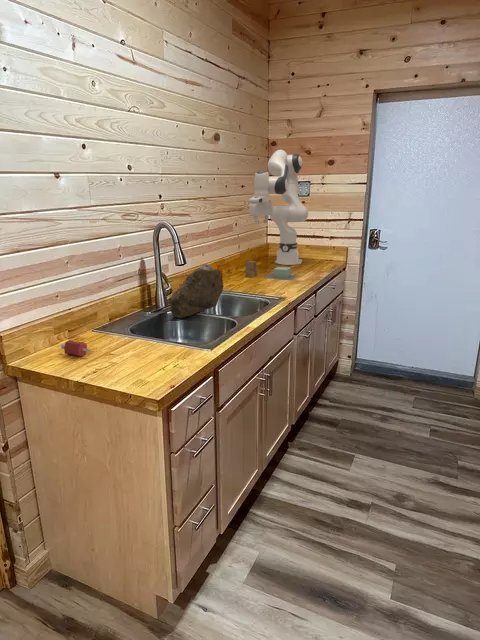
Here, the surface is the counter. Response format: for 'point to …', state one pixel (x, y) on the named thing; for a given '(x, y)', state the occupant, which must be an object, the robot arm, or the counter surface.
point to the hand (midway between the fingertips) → (261, 223)
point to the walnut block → (251, 268)
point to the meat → (75, 348)
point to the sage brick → (282, 272)
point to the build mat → (281, 278)
